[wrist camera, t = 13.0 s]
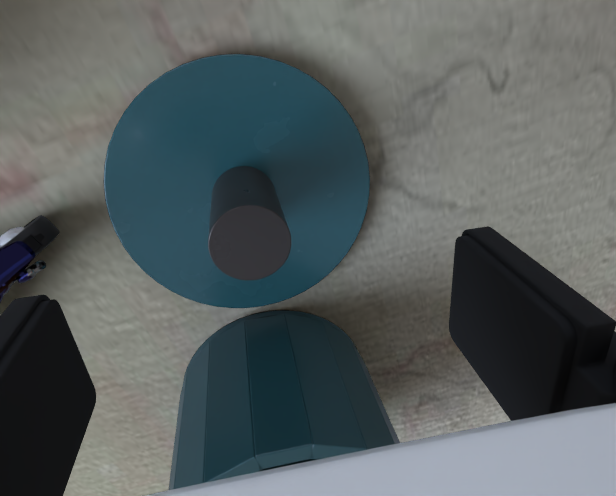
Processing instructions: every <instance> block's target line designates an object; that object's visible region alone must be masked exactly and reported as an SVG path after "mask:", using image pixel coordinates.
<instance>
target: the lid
mask: <svg viewBox="0 0 616 496" xmlns="http://www.w3.org/2000/svg"><path fill="white" fill-rule="evenodd" d="M369 189H370V175H369V165H368V159H367V155H366V151H365V147H364V144H363V141H362V139H361V136H360V133H359V131H358V129H357V127H356V125H355V124H354V122H353V120H352V118H351V116H350V115H349V113H348V112H347V111H346V109H345V108H344V107H343V105H342V104H341V103H340V101H339V100H338V99H337V98H336V97H335V96H334V95H333V94H332V93H331V92H330V91H329V90H328V89H327V88H326V87H324V86H323V85H322V84H320V83H319V82H318V81H317V80H315V79H314V78H313V77H311V76H309V75H308V74H306V73H304V72H302V71H301V70H299V69H297V68H295V67H293V66H290V65H288V64H285V63H283V62H280V61H277V60H273V59H269V58H265V57H262V56H255V55H246V54H222V55H215V56H210V57H204V58H200V59H197V60H194V61H191V62H188V63H185V64H182V65H180V66H178V67H176V68H174V69H172V70H170V71H168V72H166V73H165V74H163V75H162V76H160V77H159V78H158V79H156V80H155V81H153V82H152V83H150V84H149V85H148V86H147V87H146V88H145V89H144V90H143V91H142V92H141V93H140V94H139V95H138V96H137V97H136V98H135V99H134V100H133V101H132V103H131V104H130V105H129V107H128V108H127V109H126V110H125V112H124V113H123V115H122V117H121V119H120V120H119V122H118V124H117V126H116V128H115V130H114V132H113V135H112V138H111V140H110V143H109V146H108V150H107V155H106V160H105V168H104V190H105V200H106V204H107V209H108V213H109V217H110V219H111V222H112V224H113V227H114V229H115V232H116V234H117V236H118V237H119V239H120V241H121V243H122V245H123V246H124V248H125V249H126V251H127V252H128V253H129V255H130V256H131V257H132V259H133V260H134V261H135V262H136V263H137V264H138V265H139V266H140V267H141V268H142V269H143V270H144V272H146V273H147V274H148V275H149V276H150V277H152V278H153V279H154V280H155V281H157V282H158V283H159V284H161V285H163V286H164V287H166V288H167V289H169V290H171V291H172V292H175V293H177V294H179V295H181V296H183V297H185V298H188V299H191V300H193V301H196V302H199V303H203V304H208V305H212V306H217V307H227V308H250V307H259V306H265V305H269V304H273V303H277V302H280V301H283V300H286V299H289V298H291V297H294V296H296V295H298V294H300V293H302V292H304V291H306V290H307V289H309V288H310V287H312V286H314V285H315V284H317V283H318V282H319V281H321V280H322V279H323V278H324V277H326V276H327V275H328V274H329V273H330V272H331V271H332V270H333V269H334V268H335V267H336V266H337V265H338V264H339V263H340V262H341V260H342V259H343V258H344V257H345V255H346V254H347V253H348V251H349V250H350V248H351V246H352V245H353V243H354V241H355V240H356V238H357V236H358V233H359V231H360V229H361V227H362V224H363V221H364V217H365V214H366V211H367V205H368V199H369Z"/></svg>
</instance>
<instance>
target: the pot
mask: <svg viewBox="0 0 616 496" xmlns="http://www.w3.org/2000/svg"><path fill="white" fill-rule="evenodd" d="M397 443H400V442H399V439H398V437H397V435H396V433H395V430H394V428H393V426H392V424H391V421H390V419H389V417H388V415H387V412H386V410H385V408H384V406H383V403H382V401H381V399H380V397H379V394H378V392H377V390H376V387H375V385H374V383H373V381H372V378H371V376H370V374H369V372H368V369H367V367H366V365H365V363H364V361H363V359H362V357H361V356H360V354H359V352H358V350H357V348H356V346H355V344H354V343H353V342H352V340H351V339H350V338H349V336H348V335H347V334H346V333H345V332H344V331H343V330H341V329H340V328H339V327H337V326H336V325H335V324H333V323H331V322H329V321H327V320H326V319H324V318H321V317H318V316H316V315H313V314H308V313H304V312H298V311H269V312H262V313H258V314H253V315H250V316H247V317H244V318H241V319H238V320H236V321H234V322H232V323H230V324H228V325H226V326H225V327H223V328H221V329H220V330H218V331H217V332H216V333H214V334H213V335H212V336H211V337H209V338H208V339H207V340H206V341H205V342H204V343H203V344H202V345H201V346H200V347H199V349H198V350H197V351H196V353H195V354H194V356H193V357H192V359H191V361H190V363H189V365H188V367H187V370H186V373H185V376H184V382H183V387H182V391H181V395H180V402H179V410H178V418H177V426H176V434H175V442H174V450H173V458H172V466H171V474H170V482H169V490H173V489H177V488H182V487H187V486H192V485H197V484H201V483H206V482H211V481H216V480H221V479H225V478H230V477H235V476H240V475H245V474H250V473H255V472H260V471H264V470H269V469H274V468H279V467H284V466H289V465H294V464H299V463H303V462H308V461H313V460H318V459H323V458H328V457H333V456H338V455H343V454H348V453H353V452H358V451H363V450H368V449H372V448H377V447H382V446H387V445H392V444H397Z"/></svg>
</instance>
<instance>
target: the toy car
mask: <svg viewBox="0 0 616 496" xmlns="http://www.w3.org/2000/svg"><path fill="white" fill-rule="evenodd" d="M58 234H59V230H58V229H57V228H56V227H55V226H54V225H53V224H52V223H51V222H50V221H49V220H48V219H47V218H45V217H44V216H42V215H41V216H38V217H37V218H35V219H34V220H32V221H31V222H30V223H28V224H27V225H26V226H24V227H21V226H20V227H16V228H12V229H9V230H8V231H7V232H6V233H4V234H3V235H1V236H0V303H1V300H2V298H3V296H4V295H5V294H6V293H8V292H9V290H10V288H11V286H12V285H13V284H14V282H17V281H18V283H24V282H26V281H28V280H30V279H32V278H33V277H35V276H36V273H38V272H39V271H41V270H43V269H44V268H45V267H46V263H45V262H44V261H43V260H39V261H37V262H35V263H34V264H32V265H31V266H29V267H27V266H28V265H29V264H30V263H31V261H32V260H33V259H34V258H35V256H36V255H37V254H39V253H40V252H41V251H42V250H43V249H44V248H46V247H47V246H48V245H49V244H50V243H51V242H52V241H53V240H54V239H55V238H56V237H57V236H58Z"/></svg>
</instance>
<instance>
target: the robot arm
mask: <svg viewBox="0 0 616 496" xmlns="http://www.w3.org/2000/svg"><path fill="white" fill-rule="evenodd" d="M615 326H616V321H615V320H613V319H612V318H611V317H609V316H608V315H607V314H605V313H604V312H603V311H601V310H600V309H599V308H597V307H596V306H595V305H593V304H592V303H591V302H589V301H588V300H587V299H585V298H584V297H583V296H581V295H580V294H579V293H577V292H576V291H575V290H573V289H572V288H571V287H569V286H568V285H567V284H565V283H564V282H563V281H561V280H560V279H559V278H557V277H556V276H555V275H553V274H552V273H551V272H549V271H548V270H547V269H545V268H544V267H543V266H541V265H540V264H539V263H537V262H536V261H535V260H533V259H532V258H531V257H529V256H528V255H527V254H526V253H524V252H523V251H522V250H520V249H519V248H518V247H516V246H515V245H514V244H512V243H511V242H510V241H508V240H507V239H506V238H504V237H503V236H502V235H500V234H499V233H498V232H496V231H495V230H494V229H492V228H491V227H482V228H475V229H469V230H465V231H464V232H463V234H462V236H461V237H458V238H457V239H456V243H455V254H454V267H453V280H452V292H451V305H450V318H449V331H450V335H451V337H452V339H453V341H454V342H455V344H456V345H457V346H458V348H459V349H460V351H461V352H462V353H463V355H464V356H465V357H466V359H467V360H468V362H469V363H470V364H471V366H472V367H473V369H474V370H475V371H476V373H477V374H478V375H479V377H480V378H481V380H482V381H483V382H484V384H485V385H486V386H487V388H488V389H489V391H490V392H491V393H492V395H493V396H494V398H495V399H496V400H497V402H498V403H499V404H500V406H501V407H502V409H503V410H504V411H505V413H506V414H507V415H508V417H509V418H510V420H511V421H509V422H504V423H498V424H493V425H488V426H483V427H478V428H473V429H468V430H463V431H458V432H453V433H448V434H443V435H438V436H433V437H428V438H423V439H418V440H413V441H408V442H403V443H397V444H392V445H387V446H382V447H377V448H372V449H368V450H363V451H358V452H353V453H348V454H343V455H338V456H333V457H328V458H323V459H318V460H313V461H308V462H303V463H299V464H294V465H289V466H284V467H279V468H274V469H269V470H264V471H260V472H255V473H250V474H245V475H240V476H235V477H230V478H225V479H221V480H216V481H211V482H206V483H201V484H197V485H192V486H187V487H182V488H177V489H173V490H168V491H163V492H158V493H154V494H149V495H144V496H616V332H615V331H614V330H615ZM95 403H96V392H95V388H94V385H93V383H92V380H91V378H90V376H89V373H88V371H87V369H86V366H85V364H84V361H83V359H82V357H81V354H80V352H79V350H78V347H77V345H76V342H75V340H74V338H73V335H72V333H71V331H70V328H69V326H68V323H67V321H66V319H65V316H64V314H63V311H62V309H61V307H60V305H59V303H58V302H57V301H56V300H50V299H49V298H48V297H47V296H46V295H38V296H31V297H24V298H18V299H14V300H13V301H12V302H11V303H10V305H9V306H8V307H7V308H6V310H5V311H4V312H3V313H2V315H1V316H0V496H63V494H64V491H65V488H66V485H67V482H68V480H69V477H70V474H71V471H72V468H73V466H74V463H75V460H76V457H77V454H78V451H79V449H80V446H81V443H82V440H83V437H84V435H85V432H86V429H87V426H88V423H89V421H90V418H91V415H92V412H93V409H94V406H95Z"/></svg>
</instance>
